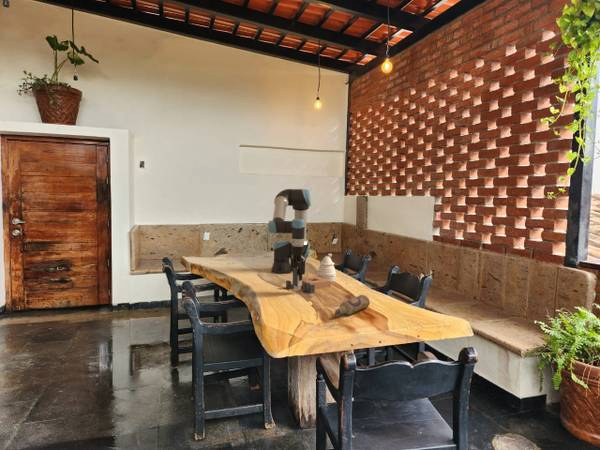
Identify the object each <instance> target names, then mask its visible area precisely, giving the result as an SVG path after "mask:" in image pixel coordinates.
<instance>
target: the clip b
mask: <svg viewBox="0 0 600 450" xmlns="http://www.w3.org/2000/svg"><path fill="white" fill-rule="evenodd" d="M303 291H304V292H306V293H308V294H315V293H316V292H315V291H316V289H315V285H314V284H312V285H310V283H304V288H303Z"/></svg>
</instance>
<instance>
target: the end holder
mask: <svg viewBox="0 0 600 450" xmlns="http://www.w3.org/2000/svg"><path fill="white" fill-rule="evenodd" d="M304 283H310V285H312V284H314V285H315V290H320V289H327V288H331V287H332V282H331V281H330V280H327V279H324V278H321V277H318V276H317V275H315V276H307V277H302V286H301V288H303V289H304Z"/></svg>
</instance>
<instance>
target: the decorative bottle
mask: <svg viewBox="0 0 600 450" xmlns="http://www.w3.org/2000/svg"><path fill="white" fill-rule="evenodd" d="M370 304H371V302H370V299H369V297H368V296H366V295H364V294H360V295H357V296H355V297H351V298H350V299H347V300H344V301H343V302H341V303H340V306H339V307H338V308H336V310H335V311H334V313H335V315H346V316H350V315H352V314H355V313H357V312H358V311H361V310H363V309H366V308H368V307H369V306H370Z"/></svg>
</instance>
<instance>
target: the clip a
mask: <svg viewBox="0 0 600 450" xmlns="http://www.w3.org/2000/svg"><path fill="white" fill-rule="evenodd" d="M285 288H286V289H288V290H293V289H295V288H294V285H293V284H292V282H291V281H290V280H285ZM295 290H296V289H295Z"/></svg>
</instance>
